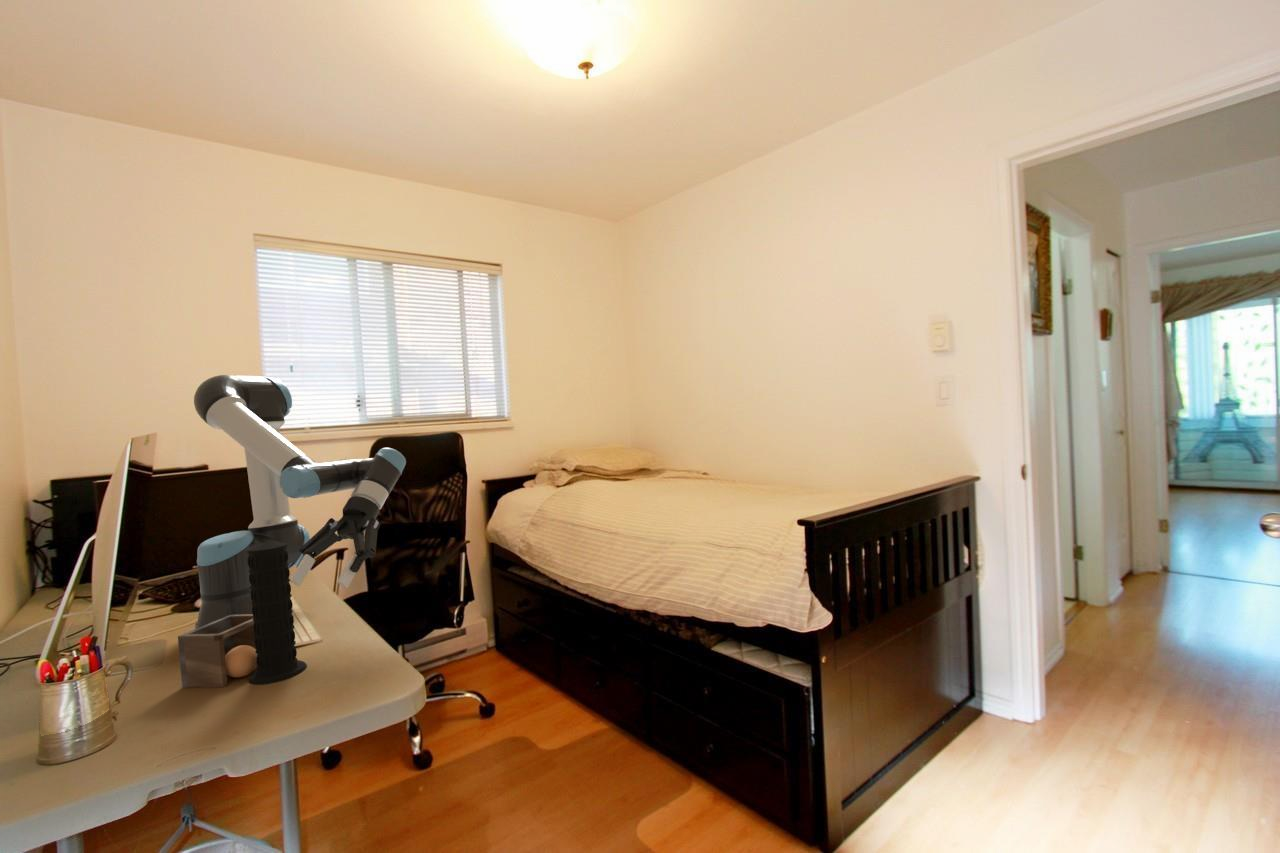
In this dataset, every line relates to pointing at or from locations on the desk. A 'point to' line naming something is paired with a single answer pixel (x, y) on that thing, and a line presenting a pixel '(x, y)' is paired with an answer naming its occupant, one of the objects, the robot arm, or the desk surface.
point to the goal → (213, 649)
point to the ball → (241, 661)
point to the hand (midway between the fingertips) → (317, 584)
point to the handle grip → (272, 614)
